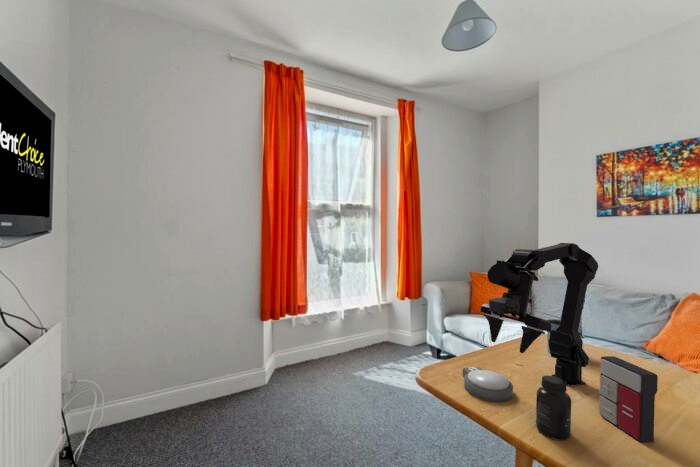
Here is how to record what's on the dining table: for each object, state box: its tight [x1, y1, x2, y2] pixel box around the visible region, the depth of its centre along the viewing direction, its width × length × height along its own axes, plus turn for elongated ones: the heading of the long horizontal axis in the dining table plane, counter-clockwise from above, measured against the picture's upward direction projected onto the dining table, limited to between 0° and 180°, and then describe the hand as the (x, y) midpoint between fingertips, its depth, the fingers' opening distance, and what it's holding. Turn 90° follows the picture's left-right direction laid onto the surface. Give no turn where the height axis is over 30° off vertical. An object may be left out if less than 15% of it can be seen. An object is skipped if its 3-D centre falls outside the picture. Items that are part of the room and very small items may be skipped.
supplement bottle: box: [535, 374, 572, 441], centre depth 74 cm, size 7×7×12 cm
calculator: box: [598, 355, 659, 443], centre depth 76 cm, size 11×4×15 cm, turn 5°
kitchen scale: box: [462, 366, 514, 403], centre depth 95 cm, size 13×16×4 cm
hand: (506, 347), depth 90 cm, fingers open, 9 cm apart
